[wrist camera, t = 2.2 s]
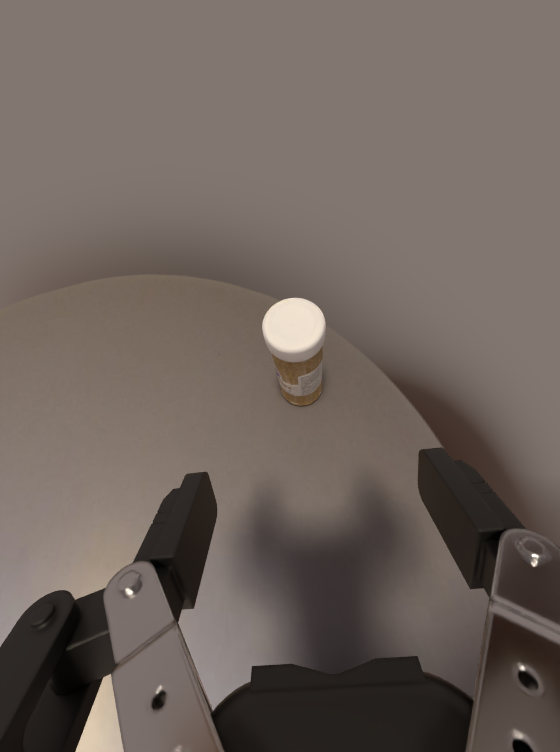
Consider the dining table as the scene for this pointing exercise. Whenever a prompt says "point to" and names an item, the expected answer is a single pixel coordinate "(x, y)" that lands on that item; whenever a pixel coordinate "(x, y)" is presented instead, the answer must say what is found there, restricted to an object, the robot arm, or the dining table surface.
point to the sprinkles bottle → (296, 348)
